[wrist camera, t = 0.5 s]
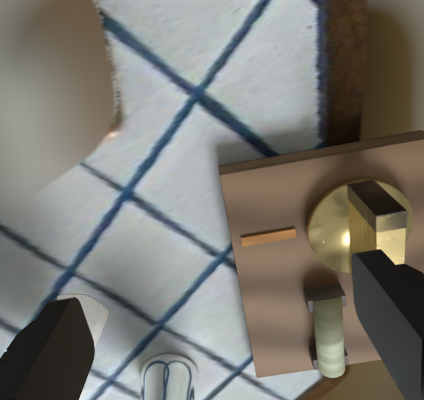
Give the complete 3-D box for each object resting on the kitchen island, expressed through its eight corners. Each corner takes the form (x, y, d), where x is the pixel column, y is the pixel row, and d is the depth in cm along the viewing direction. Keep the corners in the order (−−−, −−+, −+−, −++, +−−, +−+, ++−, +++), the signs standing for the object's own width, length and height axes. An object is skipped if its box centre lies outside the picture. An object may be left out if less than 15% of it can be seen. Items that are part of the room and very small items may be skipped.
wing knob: (302, 186, 29) (325, 224, 23) (409, 167, 28) (458, 202, 23) (309, 272, 32) (331, 323, 27) (404, 257, 32) (447, 306, 26)
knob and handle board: (218, 166, 30) (221, 190, 26) (421, 130, 29) (459, 148, 25) (254, 361, 39) (260, 403, 35) (409, 338, 39) (435, 378, 34)
